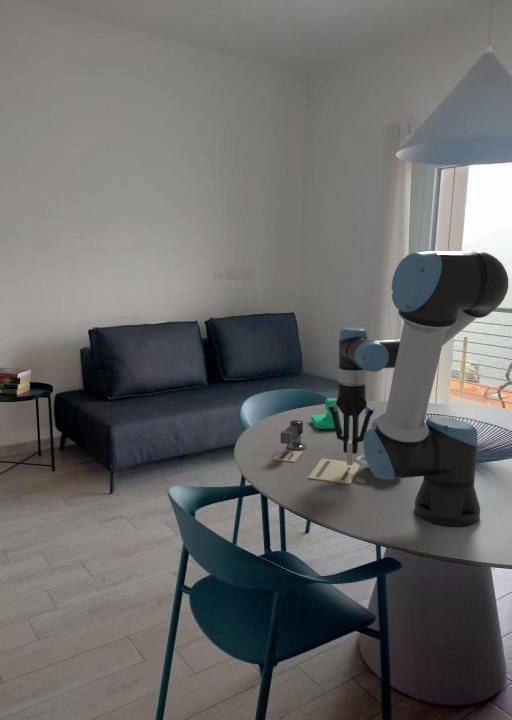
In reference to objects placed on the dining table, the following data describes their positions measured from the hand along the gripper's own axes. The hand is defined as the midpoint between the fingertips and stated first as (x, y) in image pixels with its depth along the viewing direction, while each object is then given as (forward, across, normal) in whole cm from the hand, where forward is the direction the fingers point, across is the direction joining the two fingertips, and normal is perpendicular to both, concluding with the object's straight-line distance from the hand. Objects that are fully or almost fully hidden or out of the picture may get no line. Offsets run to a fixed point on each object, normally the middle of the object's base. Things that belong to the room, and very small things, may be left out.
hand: (350, 463), depth 167 cm
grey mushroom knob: (+2, +21, -15) cm, 26 cm away
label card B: (+3, +4, +1) cm, 5 cm away
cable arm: (-3, +21, -10) cm, 23 cm away
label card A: (+2, +21, -6) cm, 22 cm away
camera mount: (+2, +18, -41) cm, 45 cm away
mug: (+3, -7, -2) cm, 8 cm away
